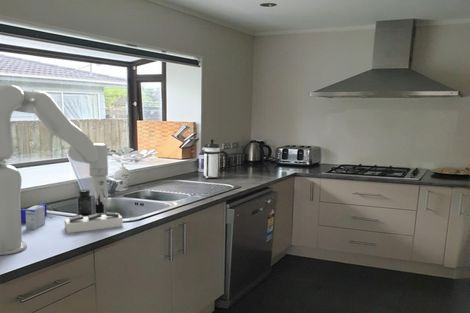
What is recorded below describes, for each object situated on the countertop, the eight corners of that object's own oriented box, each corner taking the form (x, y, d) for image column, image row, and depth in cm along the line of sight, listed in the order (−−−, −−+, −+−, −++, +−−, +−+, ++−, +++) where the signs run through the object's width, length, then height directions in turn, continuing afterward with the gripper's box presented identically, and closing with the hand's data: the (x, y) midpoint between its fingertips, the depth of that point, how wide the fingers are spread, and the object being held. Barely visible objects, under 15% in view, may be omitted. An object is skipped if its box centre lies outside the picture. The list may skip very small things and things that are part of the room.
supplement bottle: (74, 214, 192) (73, 190, 191) (84, 211, 198) (84, 188, 197) (84, 216, 189) (84, 192, 188) (95, 213, 196) (94, 189, 194)
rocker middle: (89, 220, 169) (88, 217, 169) (87, 218, 172) (87, 215, 172) (101, 216, 172) (101, 214, 172) (100, 215, 174) (99, 212, 174)
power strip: (67, 233, 165) (67, 223, 164) (64, 227, 172) (64, 218, 171) (122, 226, 176) (122, 217, 176) (118, 221, 183) (118, 212, 182)
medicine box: (35, 223, 176) (35, 205, 175) (45, 224, 176) (44, 205, 175) (25, 229, 168) (25, 209, 167) (36, 229, 168) (35, 209, 167)
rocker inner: (70, 222, 166) (70, 219, 165) (69, 220, 168) (69, 217, 168) (83, 218, 168) (82, 216, 168) (82, 216, 171) (81, 214, 171)
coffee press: (214, 180, 292) (215, 140, 288) (197, 178, 300) (198, 139, 297) (227, 177, 306) (228, 139, 303) (211, 175, 315) (212, 138, 311)
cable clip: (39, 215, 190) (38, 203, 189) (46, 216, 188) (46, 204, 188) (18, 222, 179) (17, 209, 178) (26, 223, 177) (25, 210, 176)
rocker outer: (106, 216, 173) (107, 213, 173) (105, 214, 176) (105, 212, 176) (118, 216, 176) (118, 214, 175) (116, 214, 178) (117, 212, 178)
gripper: (111, 174, 166) (112, 216, 168) (104, 168, 179) (104, 207, 181) (92, 175, 162) (94, 218, 165) (86, 169, 175) (87, 209, 177)
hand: (99, 212), depth 173 cm, fingers closed
